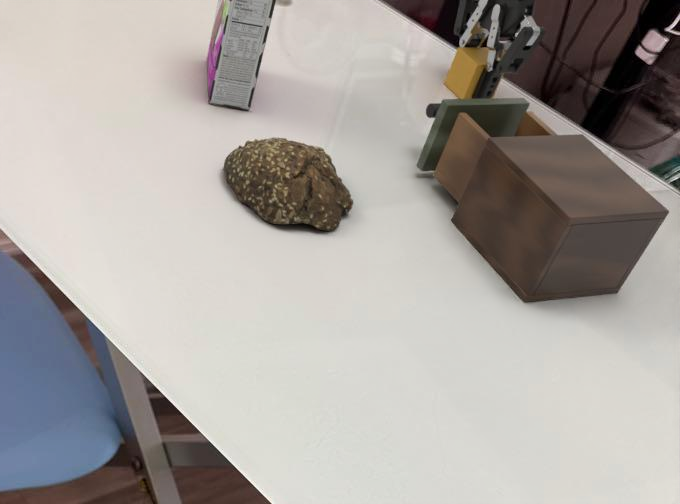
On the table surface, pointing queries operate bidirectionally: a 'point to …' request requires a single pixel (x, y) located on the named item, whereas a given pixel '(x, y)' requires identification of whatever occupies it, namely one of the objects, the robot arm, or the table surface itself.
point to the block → (467, 71)
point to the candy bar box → (237, 50)
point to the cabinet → (556, 216)
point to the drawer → (472, 135)
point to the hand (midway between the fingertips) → (468, 89)
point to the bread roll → (288, 183)
